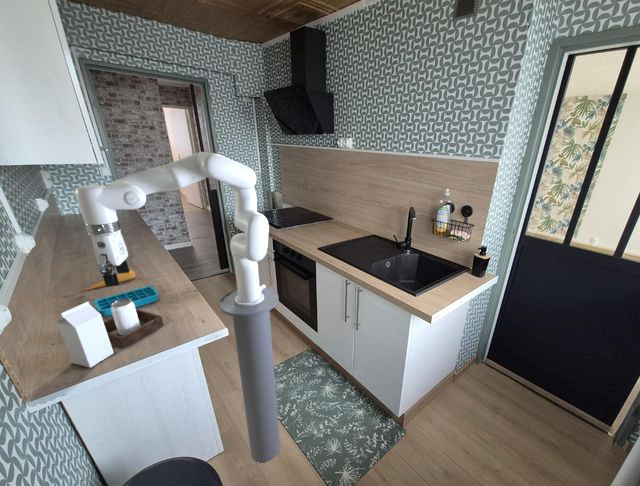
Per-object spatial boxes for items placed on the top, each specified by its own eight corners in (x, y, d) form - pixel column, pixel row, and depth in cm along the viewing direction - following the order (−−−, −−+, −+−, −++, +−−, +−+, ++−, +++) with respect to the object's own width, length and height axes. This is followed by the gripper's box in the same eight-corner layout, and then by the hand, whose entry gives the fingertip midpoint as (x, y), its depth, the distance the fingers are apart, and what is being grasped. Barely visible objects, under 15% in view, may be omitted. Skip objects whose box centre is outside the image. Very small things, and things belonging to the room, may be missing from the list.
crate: (135, 316, 115) (133, 307, 114) (163, 324, 111) (161, 316, 110) (93, 337, 102) (90, 328, 101) (123, 348, 98) (120, 338, 97)
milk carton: (114, 353, 96) (97, 303, 89) (90, 368, 89) (70, 315, 82) (96, 349, 97) (79, 299, 90) (72, 363, 90) (51, 311, 83)
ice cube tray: (161, 300, 127) (159, 294, 126) (101, 318, 113) (98, 311, 111) (152, 291, 134) (151, 285, 133) (94, 307, 119) (92, 300, 118)
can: (134, 324, 111) (126, 296, 106) (144, 329, 108) (137, 301, 104) (114, 333, 105) (105, 304, 101) (124, 338, 103) (116, 309, 98)
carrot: (136, 277, 146) (131, 269, 145) (137, 277, 143) (133, 268, 142) (84, 295, 132) (79, 286, 131) (85, 295, 129) (80, 286, 128)
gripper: (108, 235, 81) (123, 289, 88) (128, 220, 96) (140, 267, 102) (73, 237, 79) (92, 292, 85) (99, 221, 93) (114, 269, 100)
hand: (118, 278), depth 94 cm, fingers open, 9 cm apart
